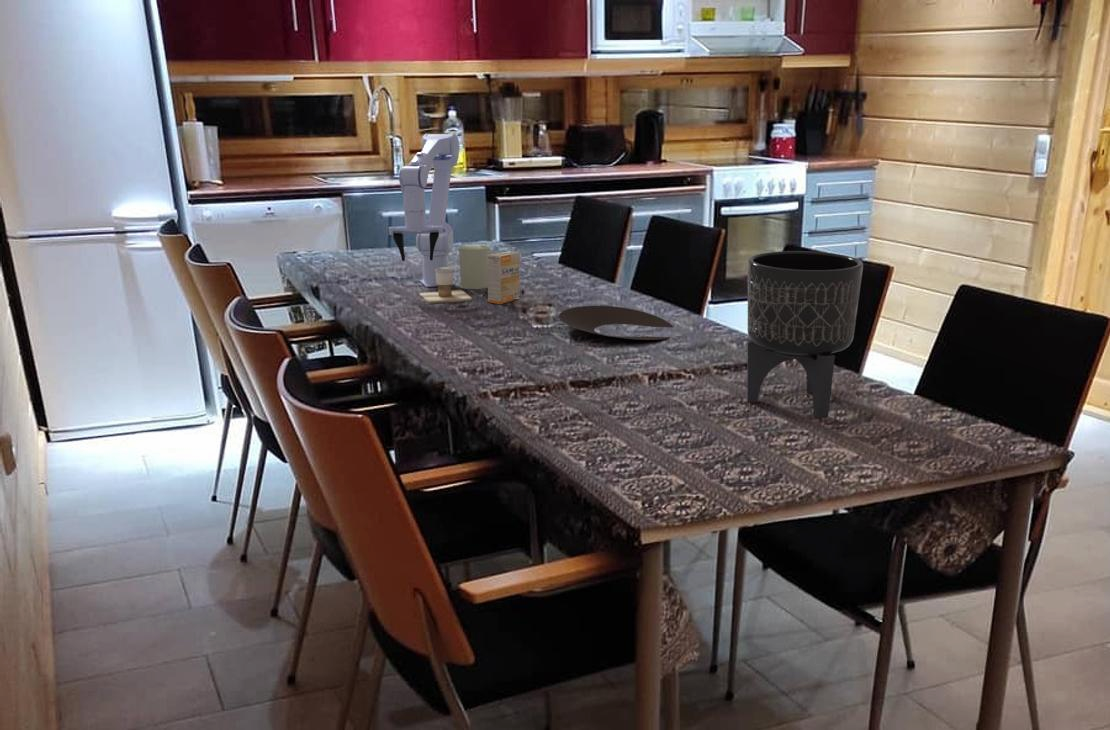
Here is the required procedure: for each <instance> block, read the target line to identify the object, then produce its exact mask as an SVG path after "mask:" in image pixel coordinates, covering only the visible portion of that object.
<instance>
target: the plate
mask: <svg viewBox="0 0 1110 730" xmlns="http://www.w3.org/2000/svg"><path fill="white" fill-rule="evenodd" d="M558 318H559V321H560V322H561V323H563V324H565V325H567V326H569V327H571V328H574V329H576V330H580V331H583V332H588V333H591V334H596V335H600V336H603V334H600V333H598V332H596V331H595V330H596V328H598V327H602V326H603V327H604V326H608V325H630V326H631V325H633V326H641V327H651V328H673V329H674V328H675V326H674V325H672V324H671V323H670V322H668V321H667V320H665V319H664V318H661V317H659V316H657V315H655V314H654V315H653V314H651V313H648V312H645V311H641V310H638V309H633V308H632V309H631V308H627V307H621V306H620V307H619V306H611V305H582V306H575V307H571V308H567V309H565V310H562V311H561V312H560V313H559V314H558ZM618 332H619V328H618V327H616V328H615V330H614V333H618ZM604 336H606V337H608V335H607V334H606V335H605V334H604ZM610 337H612V338H620V339H628V340H640V341H641V340H643V341H644V340H645V341H651V340H652V341H655V340H656V341H657V340H658V341H659V340H665V339H671V338H672V337H671V336H647V335H646V336H636V335H635V336H617V335H615V336H614V335H610Z"/></svg>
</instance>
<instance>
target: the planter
mask: <svg viewBox="0 0 1110 730" xmlns="http://www.w3.org/2000/svg"><path fill="white" fill-rule="evenodd" d="M863 269H864V263H863V262H862V261H861V260H860V259H858V258H856V257H853V256H848V255H845V254H837V253H832V252H831V253H830V252H823V251H810V250H809V251H807V250H806V251H803V250H802V251H801V250H800V251H799V250H792V251H791V250H788V251H787V250H786V251H785V250H784V251H782V250H781V251H770V252H762V253H758V254H754V255H751V256H750V257H749V258H748V260H747V335H748V339H747V341H746V342H747V351H746V352H747V357H746V359H747V360H746V361H747V362H746V363H747V366H746V367H747V377H746V378H747V380H746V382H747V383H746V384H747V389H746V390H747V391H746V395H747V396H746V397H747V401H746V402H747V404H748V403H749V404H750V403H751V404H753V403H754V404H758V400H759V396H760V391H761V387H762V386H763V383H764V380H765V379H766V377H767V375H768V374H770V372H771V371H772V370H773V369H775V367H777V366H779V365H780V364H783V363H784V362H787V361H791V360H792V361H793V360H796V361H797V362H799V363H800V364H801V366H802V367H803V369H804V371H805V372H806V373H805V374H806V393H807V394H811V395H812V406H813V407H812V410H813V411H812V416H814V417H816V418H818V419H825V418H828V417H829V415H830V405H831V404H830V403H831V394H832V385H833V377H834V370H835V369H834V368H835V358H836V355H835V354H834V353H838V352H842V351H844V350H846V349H847V348H848V347H850V346H851V344H852V342H853V340H854V336H855V329H856V322H857V314H858V306H859V299H860V294H861V293H860V292H861V284H862V278H863Z"/></svg>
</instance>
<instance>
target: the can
mask: <svg viewBox="0 0 1110 730" xmlns="http://www.w3.org/2000/svg"><path fill="white" fill-rule="evenodd" d="M458 253H459V255H458V256H459V278H460V280H459V281H460V283H459V284H460V285H459V287H460V289H461V288H462V289H466V290H482V289H483V290H484V289H488V267H487V255H490V254H491V246H490V245H487V244H483V243H482V244H481V243H478V244H477V243H476V244H474V243H473V244H472V243H471V244H465V245H461V246H459V247H458Z"/></svg>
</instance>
